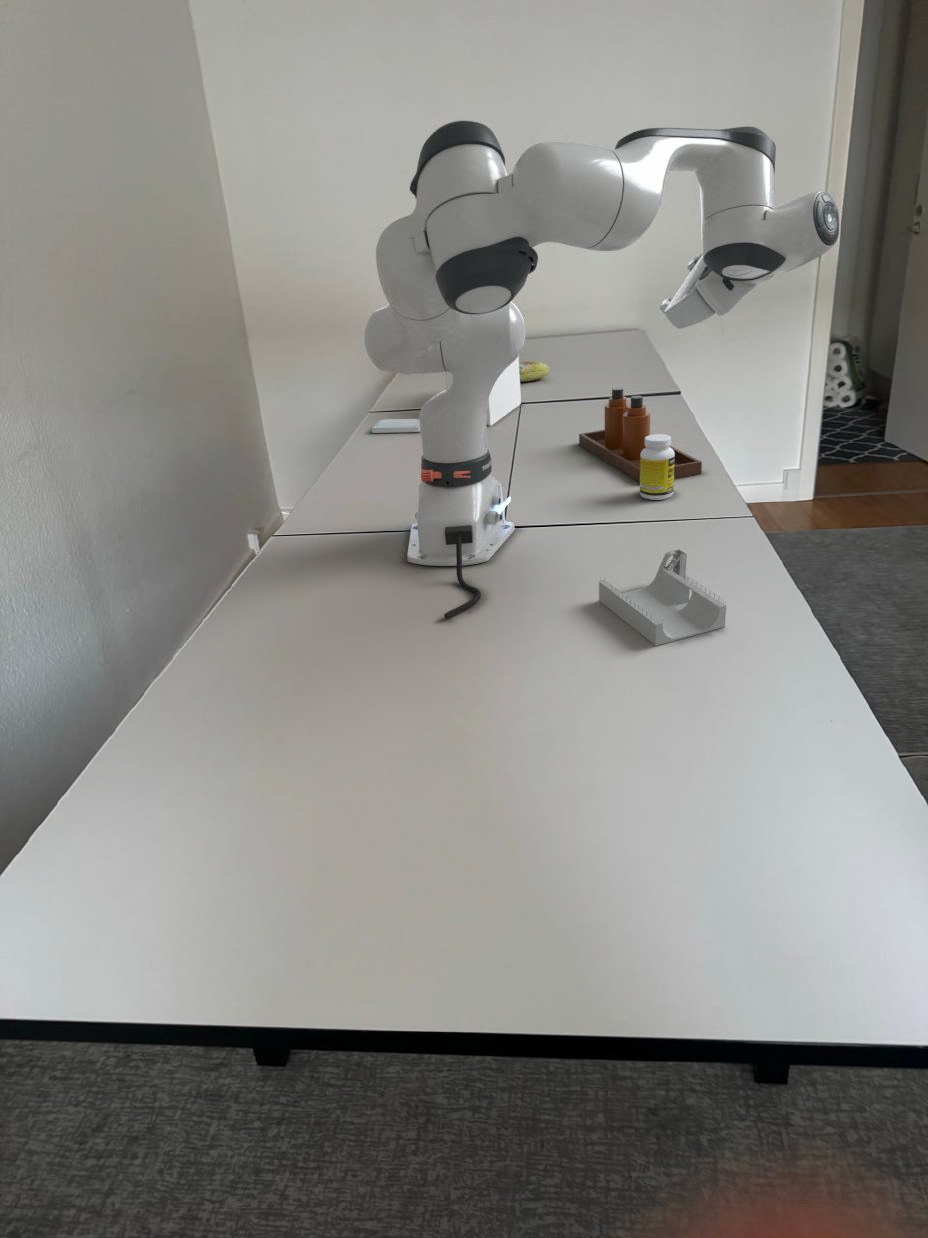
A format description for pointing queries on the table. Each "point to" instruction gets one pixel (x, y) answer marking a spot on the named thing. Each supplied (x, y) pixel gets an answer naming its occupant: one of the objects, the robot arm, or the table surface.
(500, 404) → the box
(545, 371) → the cell model
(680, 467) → the tray
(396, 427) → the hard drive
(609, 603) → the grey plastic cradle
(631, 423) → the amber bottle middle
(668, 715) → the table surface
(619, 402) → the amber bottle far
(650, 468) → the pill bottle
